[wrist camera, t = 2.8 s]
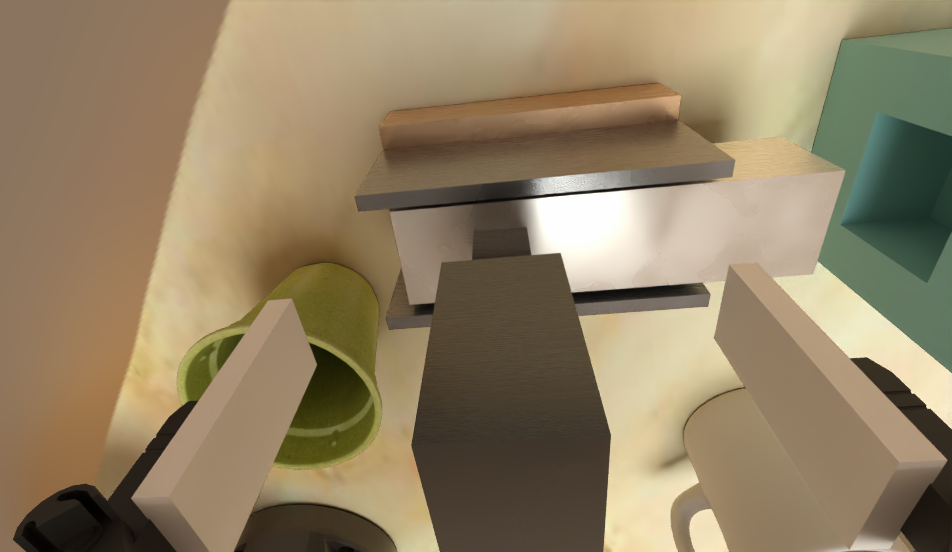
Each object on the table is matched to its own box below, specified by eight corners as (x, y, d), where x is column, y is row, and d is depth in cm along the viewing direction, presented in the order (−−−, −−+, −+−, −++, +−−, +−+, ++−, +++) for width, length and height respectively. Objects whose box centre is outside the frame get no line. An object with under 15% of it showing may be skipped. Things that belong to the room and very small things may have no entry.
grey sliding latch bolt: (421, 255, 23) (346, 569, 11) (406, 173, 21) (287, 448, 8) (760, 226, 22) (1116, 542, 10) (780, 136, 20) (1278, 394, 7)
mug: (766, 366, 32) (883, 526, 22) (824, 427, 35) (949, 591, 25) (620, 448, 36) (667, 609, 27) (683, 496, 39) (744, 655, 30)
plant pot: (282, 206, 26) (203, 293, 19) (432, 280, 29) (414, 383, 21) (237, 321, 30) (157, 429, 23) (371, 377, 33) (337, 491, 25)
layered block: (418, 252, 27) (393, 347, 20) (390, 111, 23) (347, 168, 16) (645, 233, 27) (704, 326, 19) (658, 82, 22) (741, 129, 15)
